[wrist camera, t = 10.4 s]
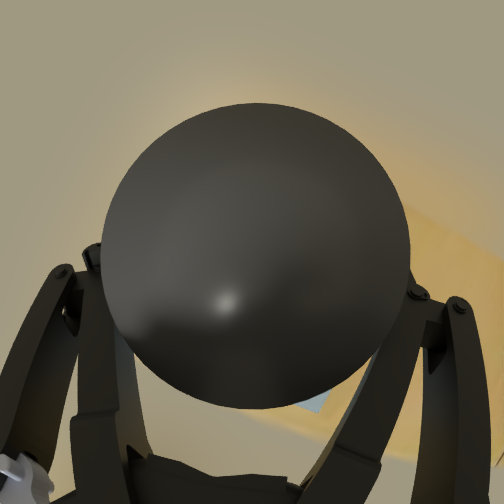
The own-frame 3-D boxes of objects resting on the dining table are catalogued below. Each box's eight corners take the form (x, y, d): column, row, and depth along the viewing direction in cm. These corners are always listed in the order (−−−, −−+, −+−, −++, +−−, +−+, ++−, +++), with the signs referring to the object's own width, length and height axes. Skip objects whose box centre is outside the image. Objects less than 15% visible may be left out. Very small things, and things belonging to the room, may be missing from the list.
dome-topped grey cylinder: (352, 319, 19) (448, 332, 7) (223, 365, 19) (154, 437, 7) (303, 195, 20) (329, 77, 9) (182, 240, 21) (84, 167, 9)
